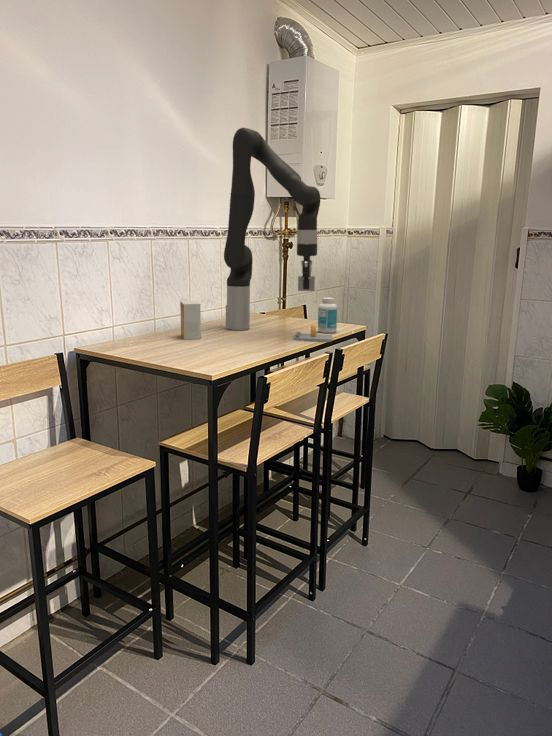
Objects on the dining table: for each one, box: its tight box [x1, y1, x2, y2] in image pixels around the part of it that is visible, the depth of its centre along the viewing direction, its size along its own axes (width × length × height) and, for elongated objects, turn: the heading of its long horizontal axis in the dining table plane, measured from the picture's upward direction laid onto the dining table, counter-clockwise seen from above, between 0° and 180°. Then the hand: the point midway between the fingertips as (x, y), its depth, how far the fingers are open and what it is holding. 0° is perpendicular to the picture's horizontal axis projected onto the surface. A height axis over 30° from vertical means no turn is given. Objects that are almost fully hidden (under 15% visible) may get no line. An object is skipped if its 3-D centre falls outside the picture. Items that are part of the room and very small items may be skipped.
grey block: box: [297, 275, 316, 292], centre depth 216 cm, size 6×6×5 cm
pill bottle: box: [317, 297, 338, 334], centre depth 229 cm, size 8×7×14 cm
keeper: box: [293, 324, 333, 343], centre depth 215 cm, size 14×9×5 cm, turn 84°
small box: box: [179, 300, 202, 340], centre depth 212 cm, size 8×6×13 cm
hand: (306, 288), depth 217 cm, fingers closed on grey block, 6 cm apart
